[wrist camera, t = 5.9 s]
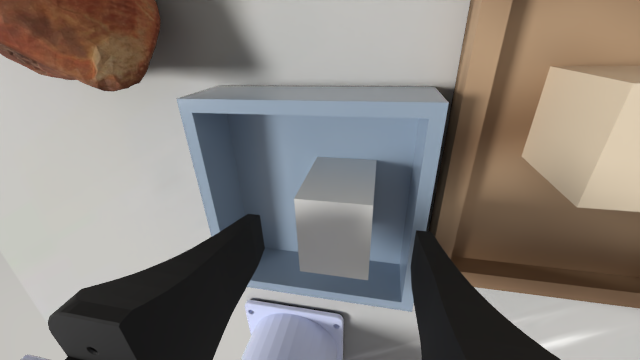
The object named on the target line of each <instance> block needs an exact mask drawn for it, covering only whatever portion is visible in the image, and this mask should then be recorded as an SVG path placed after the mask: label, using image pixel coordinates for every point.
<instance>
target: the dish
mask: <svg viewBox="0 0 640 360" xmlns="http://www.w3.org/2000/svg"><path fill="white" fill-rule="evenodd" d="M177 103H178V107H179V111H180V114H181V118H182V122H183V126H184V130H185V134H186V138H187V142H188V146H189V150H190V154H191V158H192V162H193V166H194V169H195V173H196V177H197V181H198V185H199V189H200V193H201V197H202V201H203V205H204V209H205V213H206V217H207V221H208V225H209V228H210V232H211V236H214V235H215V234H217V233H219V232H220V231H222V230H223V229H225V228H226V227H228V226H229V225H231V224H233V223H234V222H236V221H237V220H239V219H240V218H242V217H244V216H245V215H247V214H255V215H260V219H261V226H262V232H263V239H264V246H265V249H264V252H263V255H262V257H261V260H260V262H259V265H258V267H257V269H256V271H255V273H254V275H253V276H252V278H251V280H250V282H249V284H248V285H247V287H251V288H258V289H264V290H271V291H277V292H284V293H291V294H297V295H304V296H311V297H317V298H324V299H330V300H337V301H344V302H350V303H357V304H364V305H370V306H377V307H383V308H390V309H397V310H403V311H410V312H412V308H413V303H414V300H413V294H412V287H411V260H412V253H413V247H414V240H415V234H416V230H419V231H426V229H427V223H428V218H429V212H430V206H431V201H432V195H433V189H434V184H435V178H436V172H437V167H438V161H439V155H440V150H441V144H442V138H443V133H444V127H445V121H446V116H447V110H448V104H449V102H448V101H447V100H446V99H445V98H444V97H443V96H442V94H441V93H440V92H439V91H438V90H437V89H436V88H435V87H410V86H215V87H212V88H209V89H206V90H203V91H200V92H196V93H193V94H190V95H187V96H184V97H181V98H177ZM317 157H328V158H346V159H365V160H377V161H376V176H375V190H374V205H373V219H372V233H371V247H370V261H369V275H368V280H362V279H354V278H347V277H340V276H332V275H325V274H317V273H310V272H303V271H300V266H299V254H298V241H297V229H296V217H295V204H294V198H295V196H296V194H297V193H298V191H299V189H300V187H301V185H302V184H303V182H304V180H305V178H306V176H307V174H308V173H309V171H310V169H311V167H312V165H313V164H314V162H315V160H316V158H317Z"/></svg>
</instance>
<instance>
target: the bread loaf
mask: <svg viewBox="0 0 640 360" xmlns="http://www.w3.org/2000/svg"><path fill="white" fill-rule="evenodd" d="M159 30H160V15H159V11H158V7H157V3H156V1H155V0H0V54H2V55H3V56H5V57H6V58H8V59H10V60H13V61H15V62H17V63H19V64H21V65H23V66H25V67H28V68H29V69H31V70H33V71H35V72H37V73H38V74H41V75H46V76H50V77H56V78H63V79H67V80H79V81H81V82H82V83H85V84H87V85H90V86H92V87H95V88H98V89H101V90H103V91H117V90H121V89H125V88H129V87H130V86H132V85H134V84H137V83H140V81H141V80H142V78H143V77H144V75H145V74H146V72H147V69H148V66H149V63H150V59H151V58H152V55H153V52H154V49H155V46H156V43H157V38H158V34H159Z"/></svg>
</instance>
